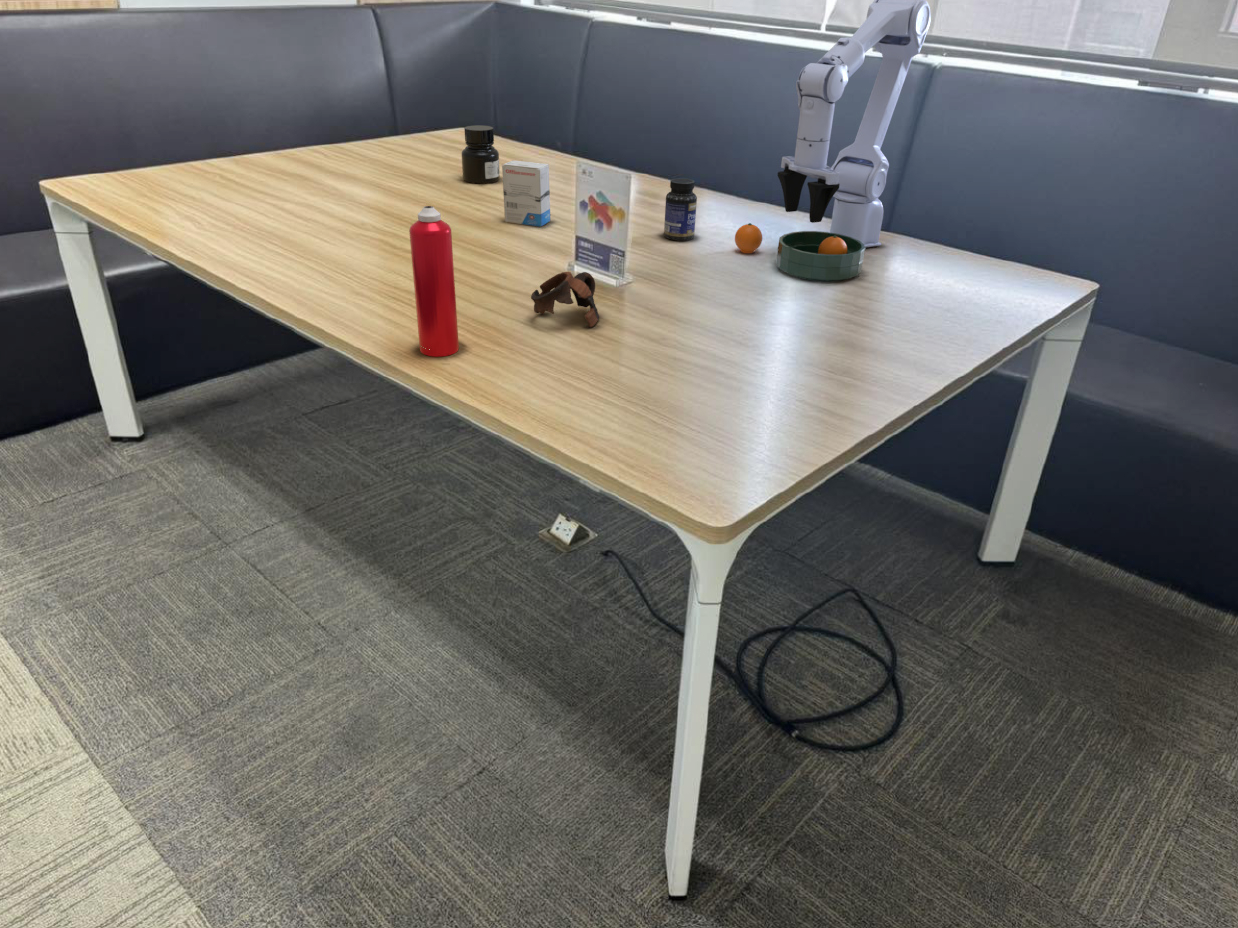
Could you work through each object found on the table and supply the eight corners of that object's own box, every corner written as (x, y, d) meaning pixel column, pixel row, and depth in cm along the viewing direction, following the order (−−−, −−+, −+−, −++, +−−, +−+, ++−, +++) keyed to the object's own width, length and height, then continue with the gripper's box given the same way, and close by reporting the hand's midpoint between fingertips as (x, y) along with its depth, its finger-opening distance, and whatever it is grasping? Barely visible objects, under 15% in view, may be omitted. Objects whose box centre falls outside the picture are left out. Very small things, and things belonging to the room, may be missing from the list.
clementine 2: (833, 259, 167) (838, 230, 165) (850, 267, 163) (855, 238, 161) (810, 262, 166) (814, 233, 163) (827, 270, 162) (831, 241, 159)
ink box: (551, 222, 187) (550, 163, 181) (540, 227, 182) (539, 168, 177) (514, 216, 189) (512, 159, 183) (503, 222, 185) (501, 163, 179)
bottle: (424, 359, 124) (412, 214, 114) (416, 344, 128) (403, 203, 118) (463, 353, 126) (454, 210, 116) (453, 339, 130) (443, 200, 120)
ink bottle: (497, 185, 213) (494, 132, 207) (459, 184, 213) (456, 131, 207) (502, 176, 221) (500, 125, 215) (466, 175, 221) (463, 123, 215)
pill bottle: (692, 242, 176) (696, 185, 171) (661, 240, 177) (664, 183, 172) (695, 234, 182) (699, 178, 176) (666, 231, 183) (669, 176, 177)
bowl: (827, 253, 173) (831, 228, 170) (877, 278, 161) (882, 250, 158) (760, 261, 167) (763, 235, 164) (807, 287, 155) (811, 259, 153)
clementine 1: (751, 246, 175) (754, 218, 173) (765, 254, 171) (769, 225, 169) (728, 249, 173) (731, 221, 171) (742, 256, 169) (745, 228, 167)
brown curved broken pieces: (588, 338, 133) (560, 292, 130) (542, 351, 139) (514, 307, 136) (621, 295, 141) (595, 250, 137) (576, 309, 147) (550, 266, 143)
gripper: (771, 132, 161) (762, 208, 168) (819, 147, 150) (808, 228, 156) (803, 130, 163) (793, 205, 170) (853, 145, 152) (841, 225, 159)
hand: (803, 216), depth 164 cm, fingers open, 7 cm apart
